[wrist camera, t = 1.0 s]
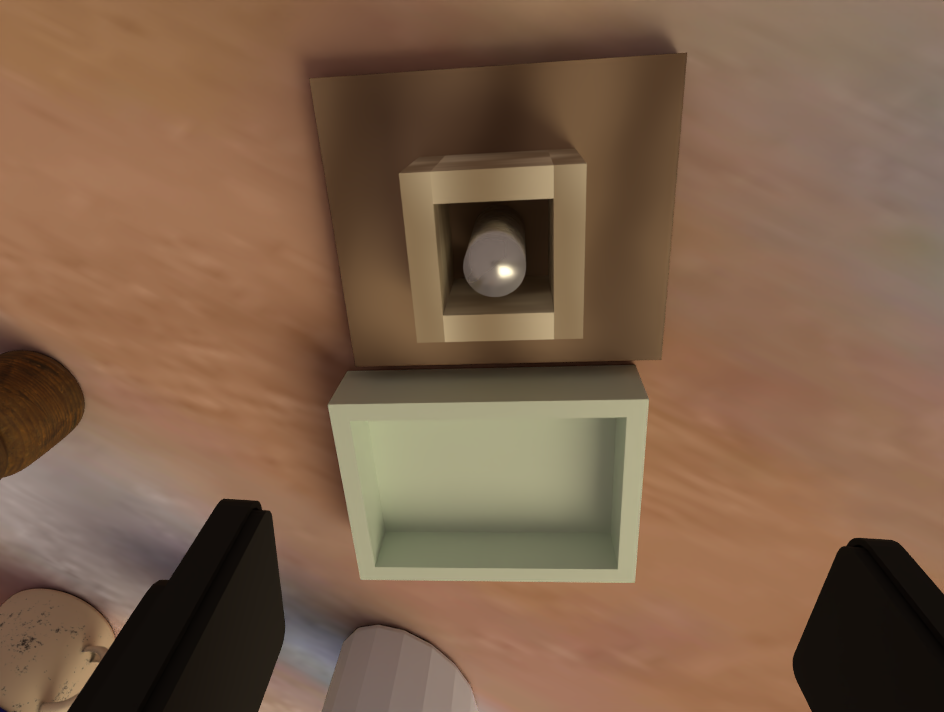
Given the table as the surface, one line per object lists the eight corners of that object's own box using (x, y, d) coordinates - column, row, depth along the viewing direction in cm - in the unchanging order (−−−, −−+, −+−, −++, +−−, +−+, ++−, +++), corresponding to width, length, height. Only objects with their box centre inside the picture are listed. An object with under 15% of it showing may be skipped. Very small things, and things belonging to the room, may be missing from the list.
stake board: (678, 53, 26) (687, 52, 24) (655, 347, 32) (661, 359, 30) (319, 78, 27) (309, 78, 26) (362, 354, 33) (355, 366, 32)
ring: (574, 148, 26) (586, 163, 22) (573, 297, 29) (582, 338, 25) (419, 156, 27) (398, 173, 22) (432, 302, 30) (417, 342, 25)
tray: (635, 364, 32) (649, 399, 29) (624, 536, 37) (634, 582, 34) (347, 370, 34) (327, 404, 30) (374, 534, 39) (360, 579, 35)
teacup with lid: (40, 672, 47) (-96, 842, 37) (-22, 589, 44) (-193, 751, 33) (174, 660, 46) (71, 835, 35) (121, 572, 42) (-12, 738, 31)
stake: (524, 203, 27) (525, 235, 22) (525, 254, 28) (526, 296, 23) (472, 205, 28) (461, 237, 22) (475, 256, 29) (465, 298, 23)
